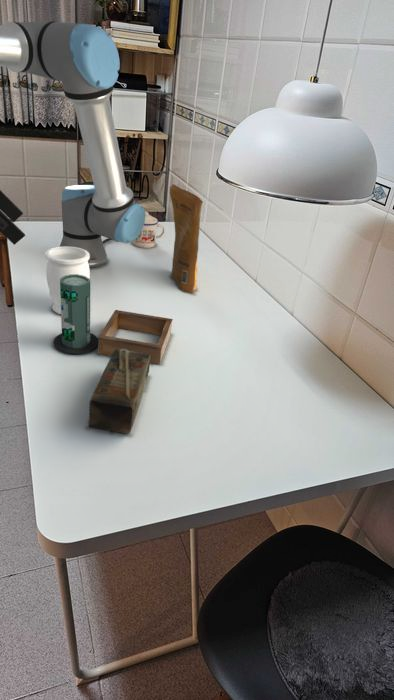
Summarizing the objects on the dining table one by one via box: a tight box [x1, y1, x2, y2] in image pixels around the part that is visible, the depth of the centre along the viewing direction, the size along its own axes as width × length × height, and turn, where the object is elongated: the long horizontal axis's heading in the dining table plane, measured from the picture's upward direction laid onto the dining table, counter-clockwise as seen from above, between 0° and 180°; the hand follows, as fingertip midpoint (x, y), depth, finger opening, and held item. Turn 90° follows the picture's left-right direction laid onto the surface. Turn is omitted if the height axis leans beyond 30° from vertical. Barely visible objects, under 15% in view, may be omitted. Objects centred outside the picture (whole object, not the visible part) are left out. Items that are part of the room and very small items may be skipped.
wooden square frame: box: [97, 309, 173, 365], centre depth 109 cm, size 14×14×4 cm
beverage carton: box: [88, 349, 151, 435], centre depth 90 cm, size 8×19×7 cm, turn 175°
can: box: [60, 274, 91, 348], centre depth 104 cm, size 6×6×15 cm
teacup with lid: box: [131, 210, 166, 249], centre depth 169 cm, size 12×9×12 cm
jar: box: [45, 246, 91, 315], centre depth 118 cm, size 11×10×15 cm
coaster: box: [53, 332, 98, 356], centre depth 108 cm, size 10×10×1 cm
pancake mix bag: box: [169, 183, 203, 294], centre depth 138 cm, size 7×19×28 cm, turn 20°
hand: (19, 228), depth 92 cm, fingers open, 13 cm apart
